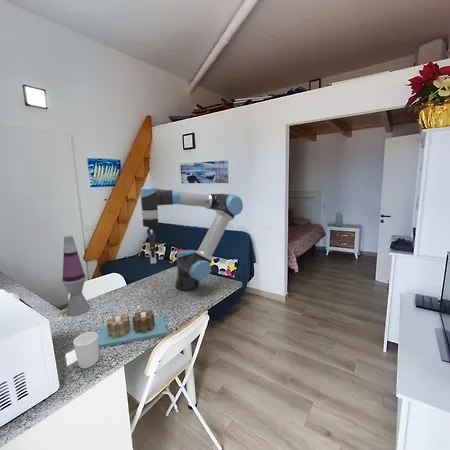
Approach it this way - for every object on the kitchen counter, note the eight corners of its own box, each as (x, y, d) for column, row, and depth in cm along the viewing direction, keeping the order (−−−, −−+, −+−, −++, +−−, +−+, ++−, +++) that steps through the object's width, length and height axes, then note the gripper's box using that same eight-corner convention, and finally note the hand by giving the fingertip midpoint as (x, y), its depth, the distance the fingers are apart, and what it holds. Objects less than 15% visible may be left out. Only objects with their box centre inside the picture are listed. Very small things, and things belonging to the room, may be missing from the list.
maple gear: (126, 323, 115) (125, 311, 114) (133, 332, 109) (132, 319, 108) (105, 331, 110) (104, 318, 109) (111, 341, 103) (110, 328, 102)
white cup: (83, 355, 97) (79, 332, 95) (103, 354, 98) (101, 331, 96) (72, 370, 89) (69, 346, 87) (95, 369, 90) (92, 344, 88)
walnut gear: (134, 323, 115) (133, 311, 114) (154, 320, 118) (153, 308, 117) (133, 335, 107) (132, 322, 106) (155, 331, 109) (154, 318, 108)
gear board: (163, 318, 122) (162, 302, 120) (166, 335, 109) (165, 317, 107) (100, 329, 114) (98, 312, 112) (95, 349, 100) (93, 330, 99)
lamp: (61, 313, 127) (49, 237, 119) (79, 303, 137) (70, 232, 129) (76, 317, 123) (66, 239, 115) (94, 307, 133) (85, 234, 125)
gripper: (142, 214, 134) (145, 252, 139) (142, 222, 111) (145, 268, 115) (156, 214, 137) (159, 251, 141) (159, 221, 113) (162, 266, 117)
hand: (153, 258), depth 128 cm, fingers open, 13 cm apart
